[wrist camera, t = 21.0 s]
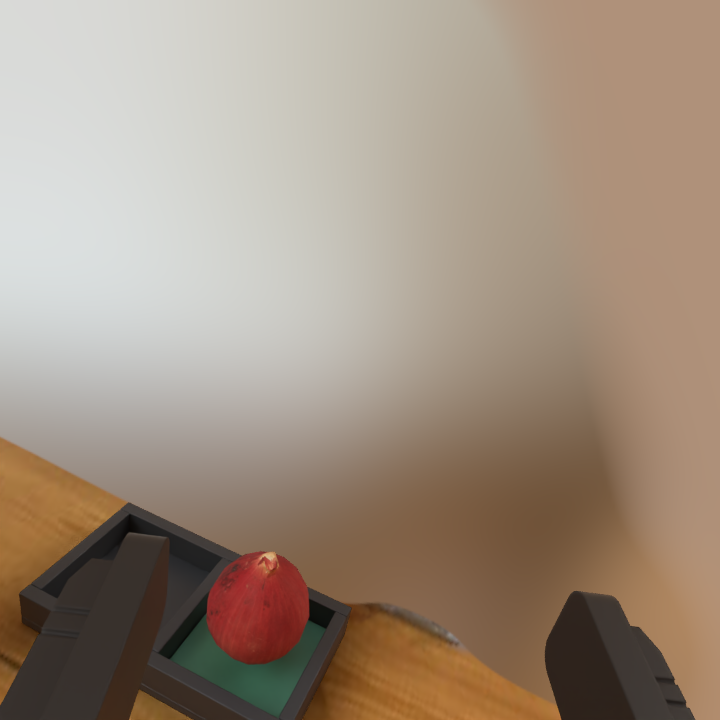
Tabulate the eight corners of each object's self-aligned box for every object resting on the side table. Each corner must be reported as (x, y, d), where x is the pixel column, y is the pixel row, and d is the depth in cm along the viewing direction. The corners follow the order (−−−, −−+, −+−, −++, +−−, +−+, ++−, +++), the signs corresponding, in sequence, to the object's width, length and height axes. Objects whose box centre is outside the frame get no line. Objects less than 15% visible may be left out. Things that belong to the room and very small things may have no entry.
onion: (184, 673, 33) (192, 575, 30) (228, 596, 39) (240, 503, 35) (280, 709, 33) (300, 613, 29) (311, 625, 38) (332, 534, 34)
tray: (128, 529, 43) (128, 501, 42) (344, 634, 39) (351, 607, 37) (21, 623, 35) (18, 593, 34) (278, 767, 31) (284, 739, 30)
